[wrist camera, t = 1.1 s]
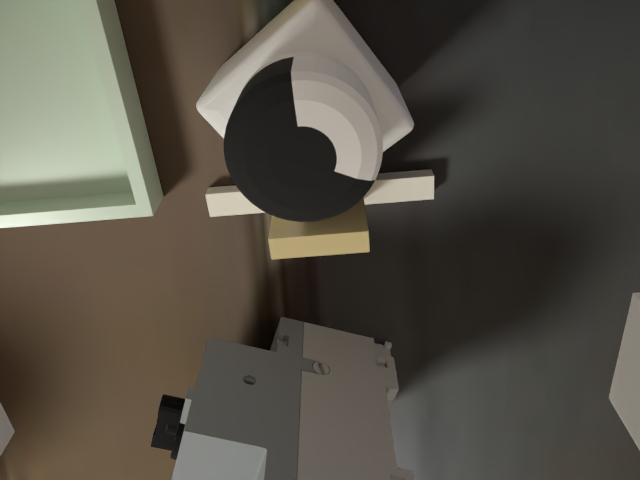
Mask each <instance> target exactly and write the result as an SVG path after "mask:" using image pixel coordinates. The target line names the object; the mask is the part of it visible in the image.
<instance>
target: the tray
mask: <svg viewBox="0 0 640 480" xmlns="http://www.w3.org/2000/svg"><path fill="white" fill-rule="evenodd" d="M163 198H164V196H163V192H162V188H161V184H160V180H159V176H158V172H157V168H156V164H155V160H154V156H153V152H152V148H151V144H150V140H149V136H148V132H147V128H146V124H145V120H144V116H143V112H142V108H141V104H140V100H139V96H138V92H137V88H136V84H135V80H134V76H133V72H132V68H131V64H130V60H129V56H128V52H127V48H126V44H125V40H124V36H123V32H122V28H121V24H120V20H119V16H118V12H117V8H116V4H115V0H0V228H8V227H21V226H33V225H46V224H58V223H71V222H83V221H96V220H108V219H121V218H133V217H146V216H153V215H154V214H155V212H156V210H157V208H158V206H159V205H160V203H161V201H162V199H163Z"/></svg>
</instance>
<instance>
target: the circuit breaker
mask: <svg viewBox="0 0 640 480" xmlns="http://www.w3.org/2000/svg"><path fill="white" fill-rule="evenodd" d="M391 347H392V344H391V342H387V341H385V344H384V345H381V344H377V343H374V338H370V337H366V336H361V335H357V334H353V333H349V332H345V331H340V330H336V329H332V328H328V327H323V326H319V325H315V324H311V323H306V322H302V321H298V320H294V319H289V318H285V317H281V318H280V321H279V324H278V327H277V330H276V333H275V336H274V339H273V342H272V345H271V348H270V351H269V350H265V349H260V348H256V347H251V346H247V345H242V344H238V343H233V342H229V341H224V340H220V339H215V338H211V337H210V338H208V341H207V345H206V349H205V353H204V356H203V360H202V364H201V367H200V371H199V375H198V379H197V382H196V386H195V390H193V389H188V392H187V396H186V399H183V398H178V397H173V396H168V395H163V396H162V399H161V403H160V407H159V411H158V419H157V425H156V428H155V431H154V434H153V438H152V443H151V447H156V448H161V449H166V450H171V451H172V453H171V458H172V459H175V460H176V463H175V467H174V471H173V475H172V479H171V480H414V477H413V471H412V470H407V469H402V468H397V466H396V459H395V451H394V444H393V437H392V429H391V422H390V415H389V408H390V406H391V404H392V402H393V400H394V398H395V396H396V394H397V392H398V390H399V386H398V380H397V374H396V368H395V362H394V357H391V353H390V349H391ZM385 363H386V365H387V368H386V367H385Z"/></svg>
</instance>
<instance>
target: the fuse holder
mask: <svg viewBox="0 0 640 480" xmlns="http://www.w3.org/2000/svg"><path fill="white" fill-rule="evenodd" d="M205 195H206V200H207V205H208V210H209V214H210V217H215V216H228V215H240V214H253V213H266V212H264V211H262V210H260V209H259V208H257V207H256V206H255V205H253V204H252V203H251V202H250V201H249V200H248V199H247V198H245V197H244V196H243V194H242V193H241V192H240V191H239V189H238V188H237V187H236V185H233V186H221V187H209V188H208V189H207V192H206V194H205ZM429 199H434V174H433V172H432V170H431V169H428V170H416V171H404V172H391V173H379V174H378V175H377V177H376V180H375V181H374V183H373V185H372V186H371V188H370V190H369V191H368V192H367V193H366V195H365V196H364V197H363V198H362V199H361V200H360V201H359V202H358V203H357V204H355V205H354V206H353V207H351V208H350V209H348V210H347V211H345V212H343V213H341V214H339V215H337V216H334V217H332V218H329V219H325V220H321V221H313V222H296V221H288V220H284V219H281V218H277V217H275V216H272V219H271V225H270V231H269V237H268V241H269V248H270V254H271V259H284V258H298V257H311V256H324V255H337V254H350V253H364V252H370V248H369V231H368V224H367V217H366V211H365V205H366V204H379V203H391V202H404V201H416V200H429Z"/></svg>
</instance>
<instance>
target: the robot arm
mask: <svg viewBox="0 0 640 480" xmlns="http://www.w3.org/2000/svg"><path fill="white" fill-rule="evenodd" d="M609 400H610V401H611V403H612V405H613V406H614V408H615V410H616V411H617V413H618V415H619V416H620V418H621V420H622V422H623V423H624V425H625V427H626V428H627V430H628V432H629V433H630V435H631V437H632V438H633V440H634V442H635V443H636V445H637V447H638V449H639V450H640V293H633V295H632V299H631V304H630V308H629V312H628V317H627V321H626V325H625V330H624V334H623V338H622V343H621V347H620V351H619V356H618V360H617V364H616V368H615V373H614V377H613V381H612V386H611V390H610V394H609ZM14 432H15V431H14V429H13V427H12V425H11V423H10V421H9V419H8V417H7V415H6V413H5V411H4V409H3V407H2V405H1V403H0V456H1V454H2V453H3V451H4V449H5V448H6V446H7V444H8V442H9V441H10V439H11V437H12V436H13V434H14Z"/></svg>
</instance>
